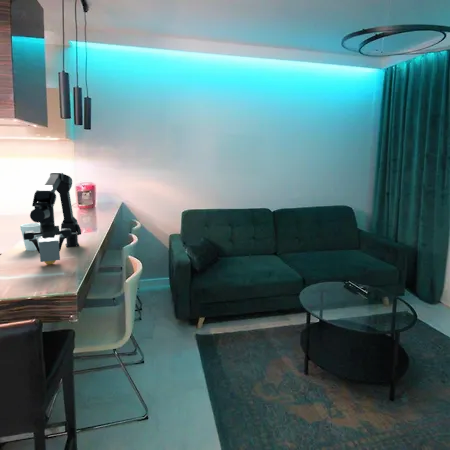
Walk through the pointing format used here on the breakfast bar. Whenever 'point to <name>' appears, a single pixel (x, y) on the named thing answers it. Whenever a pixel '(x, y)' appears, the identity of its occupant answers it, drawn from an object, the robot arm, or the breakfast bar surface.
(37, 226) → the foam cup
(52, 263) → the ball
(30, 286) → the breakfast bar surface
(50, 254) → the matte grey cube
